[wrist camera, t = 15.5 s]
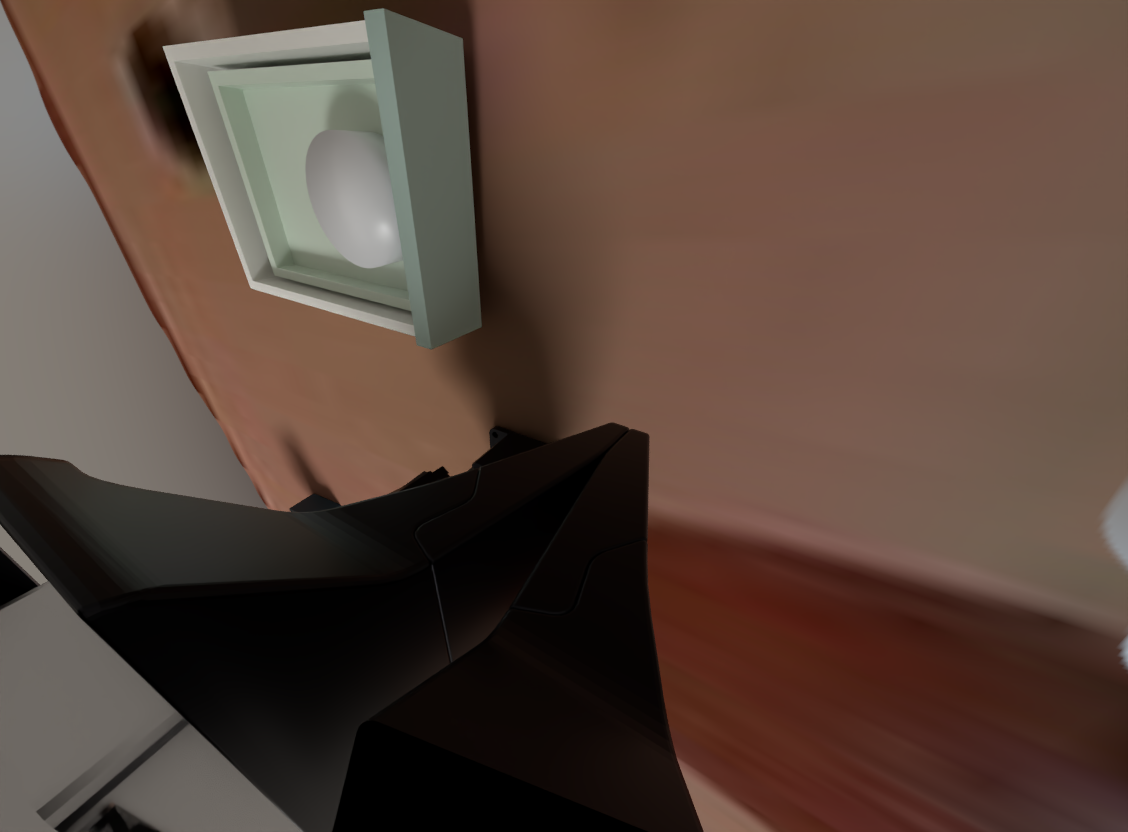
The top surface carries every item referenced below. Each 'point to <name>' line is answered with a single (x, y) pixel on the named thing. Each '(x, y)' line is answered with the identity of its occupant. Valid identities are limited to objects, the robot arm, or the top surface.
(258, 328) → the top surface
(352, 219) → the dome
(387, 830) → the robot arm
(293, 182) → the drawer
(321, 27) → the shallow white bin
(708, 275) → the top surface
